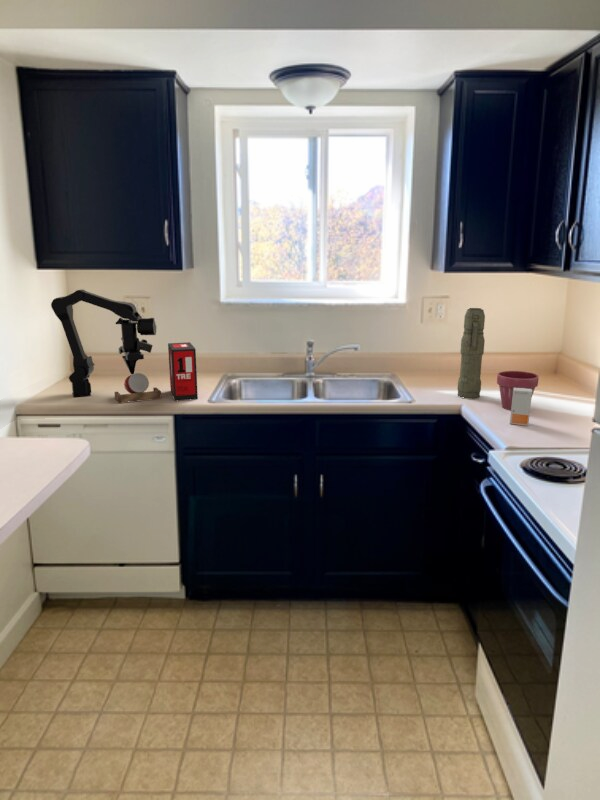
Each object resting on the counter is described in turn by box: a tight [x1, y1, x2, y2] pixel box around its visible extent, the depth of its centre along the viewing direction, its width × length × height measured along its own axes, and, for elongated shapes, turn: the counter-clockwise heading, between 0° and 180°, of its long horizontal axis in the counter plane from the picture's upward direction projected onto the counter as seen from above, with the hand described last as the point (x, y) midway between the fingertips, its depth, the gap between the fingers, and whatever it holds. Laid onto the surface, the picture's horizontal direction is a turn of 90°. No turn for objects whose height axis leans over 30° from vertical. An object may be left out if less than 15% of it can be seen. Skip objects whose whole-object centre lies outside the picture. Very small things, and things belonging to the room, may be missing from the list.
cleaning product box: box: [167, 342, 199, 402], centre depth 231 cm, size 16×9×20 cm, turn 18°
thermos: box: [457, 307, 486, 399], centre depth 228 cm, size 9×12×35 cm
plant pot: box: [496, 370, 539, 411], centre depth 214 cm, size 14×14×13 cm
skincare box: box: [509, 388, 533, 427], centre depth 195 cm, size 6×4×12 cm
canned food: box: [123, 372, 150, 394], centre depth 229 cm, size 8×8×11 cm
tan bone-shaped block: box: [114, 387, 162, 404], centre depth 227 cm, size 16×7×3 cm, turn 117°
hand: (132, 373), depth 232 cm, fingers closed
